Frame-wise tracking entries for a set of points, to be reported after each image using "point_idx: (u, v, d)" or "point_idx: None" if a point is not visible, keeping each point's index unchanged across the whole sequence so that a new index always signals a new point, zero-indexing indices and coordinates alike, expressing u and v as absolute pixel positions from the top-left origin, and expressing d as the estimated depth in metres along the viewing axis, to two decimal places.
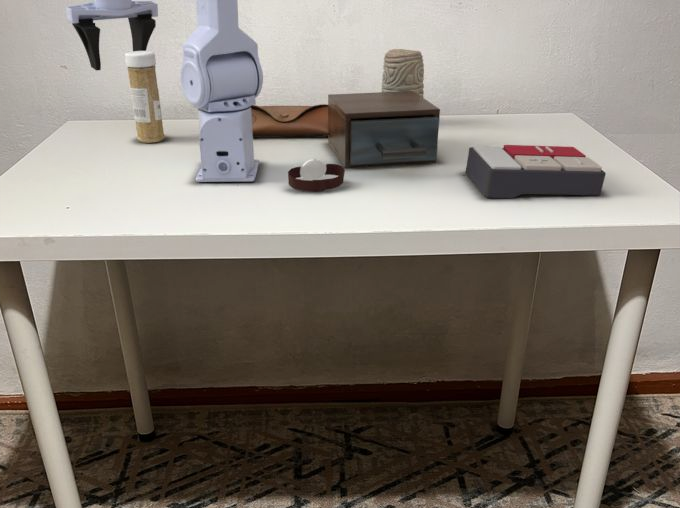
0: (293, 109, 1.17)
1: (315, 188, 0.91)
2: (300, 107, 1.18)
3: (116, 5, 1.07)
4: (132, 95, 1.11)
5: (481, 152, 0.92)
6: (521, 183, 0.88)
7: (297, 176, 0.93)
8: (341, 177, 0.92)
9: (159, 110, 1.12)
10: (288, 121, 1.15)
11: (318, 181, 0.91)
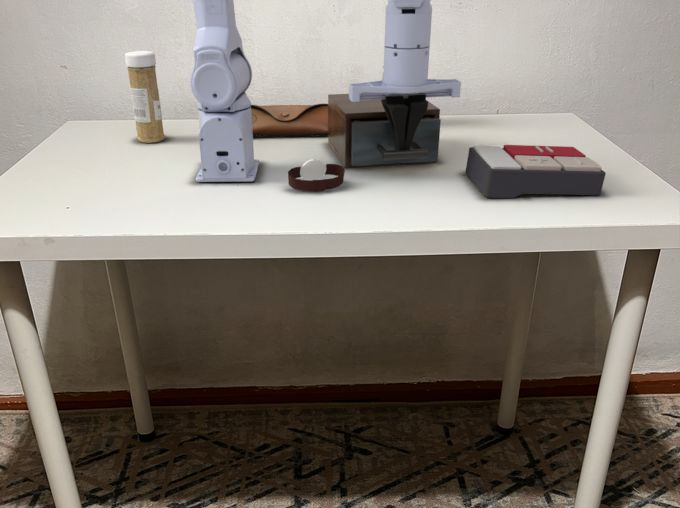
0: (293, 109, 1.17)
1: (315, 188, 0.91)
2: (300, 106, 1.18)
3: (406, 81, 0.88)
4: (132, 95, 1.11)
5: (481, 152, 0.92)
6: (521, 183, 0.88)
7: (297, 176, 0.93)
8: (341, 177, 0.92)
9: (159, 110, 1.12)
10: (289, 121, 1.15)
11: (318, 181, 0.91)
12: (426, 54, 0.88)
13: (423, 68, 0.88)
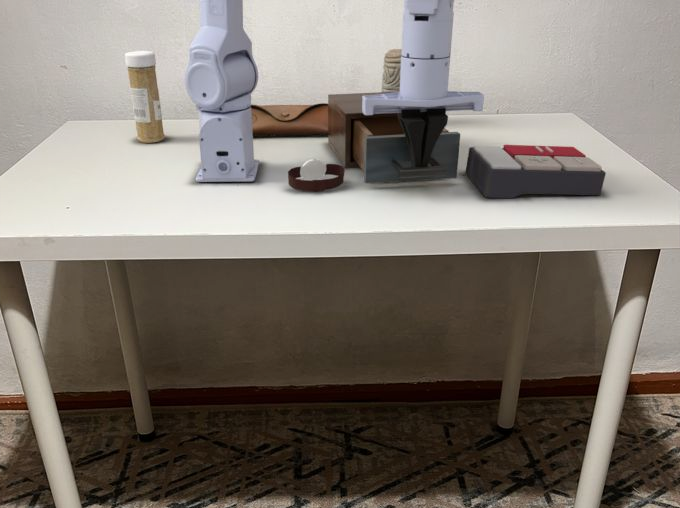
0: (293, 109, 1.18)
1: (315, 188, 0.91)
2: (300, 106, 1.18)
3: (423, 94, 0.82)
4: (132, 95, 1.11)
5: (481, 152, 0.92)
6: (521, 183, 0.88)
7: (297, 176, 0.93)
8: (341, 177, 0.92)
9: (159, 110, 1.12)
10: (289, 120, 1.16)
11: (318, 181, 0.91)
12: (446, 65, 0.81)
13: (443, 79, 0.81)
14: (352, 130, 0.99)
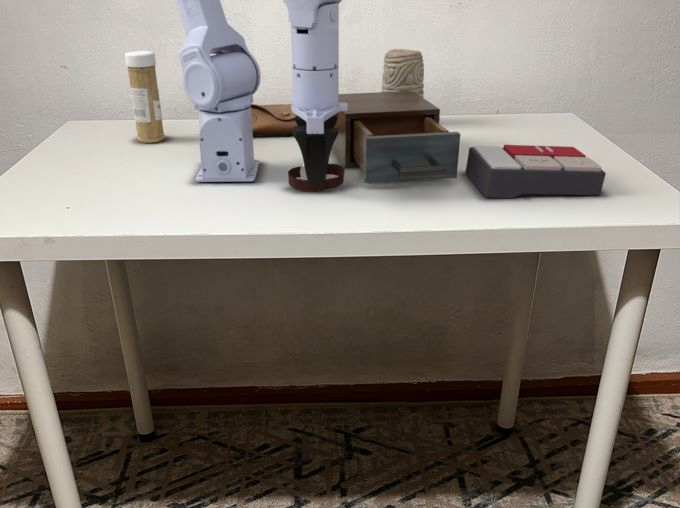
0: None
1: (315, 188, 0.91)
2: None
3: None
4: (132, 95, 1.11)
5: (481, 152, 0.92)
6: (521, 183, 0.88)
7: (297, 176, 0.94)
8: (341, 177, 0.92)
9: (159, 110, 1.12)
10: (290, 120, 1.16)
11: None
12: (300, 77, 0.84)
13: (296, 89, 0.85)
14: (352, 130, 0.99)
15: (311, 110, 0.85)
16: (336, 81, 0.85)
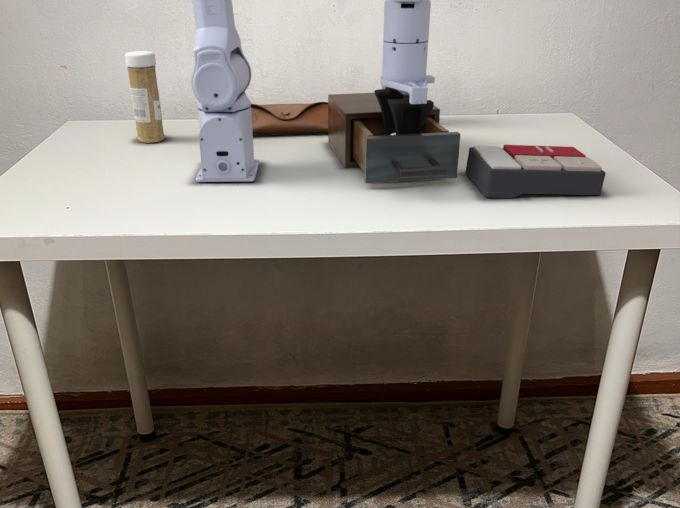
0: (293, 107, 1.18)
1: None
2: (300, 105, 1.19)
3: (382, 72, 0.91)
4: (132, 95, 1.11)
5: (481, 152, 0.92)
6: (521, 183, 0.88)
7: None
8: None
9: (159, 110, 1.12)
10: (290, 119, 1.16)
11: None
12: (395, 50, 0.87)
13: (390, 63, 0.89)
14: (352, 130, 0.99)
15: (406, 82, 0.89)
16: None
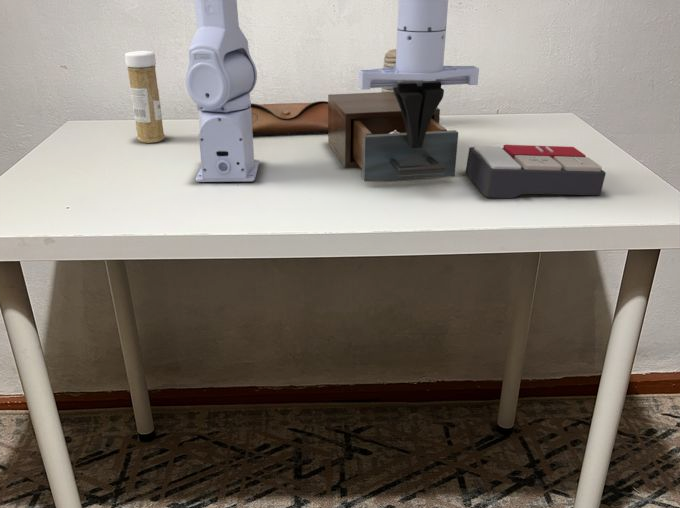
0: (293, 107, 1.19)
1: None
2: (299, 104, 1.19)
3: (420, 67, 0.82)
4: (132, 95, 1.11)
5: (481, 152, 0.92)
6: (521, 183, 0.88)
7: None
8: None
9: (159, 110, 1.12)
10: (291, 118, 1.17)
11: None
12: (442, 38, 0.82)
13: (439, 53, 0.82)
14: (351, 129, 1.00)
15: (444, 69, 0.85)
16: None
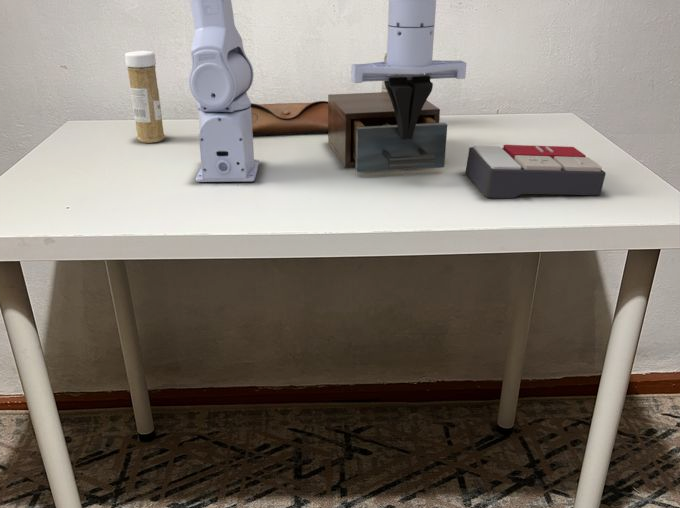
0: (293, 107, 1.19)
1: None
2: (299, 104, 1.20)
3: (410, 61, 0.86)
4: (132, 95, 1.11)
5: (481, 152, 0.92)
6: (521, 183, 0.88)
7: None
8: None
9: (159, 110, 1.12)
10: (291, 118, 1.17)
11: None
12: (431, 33, 0.85)
13: (428, 48, 0.86)
14: None
15: (433, 64, 0.89)
16: None
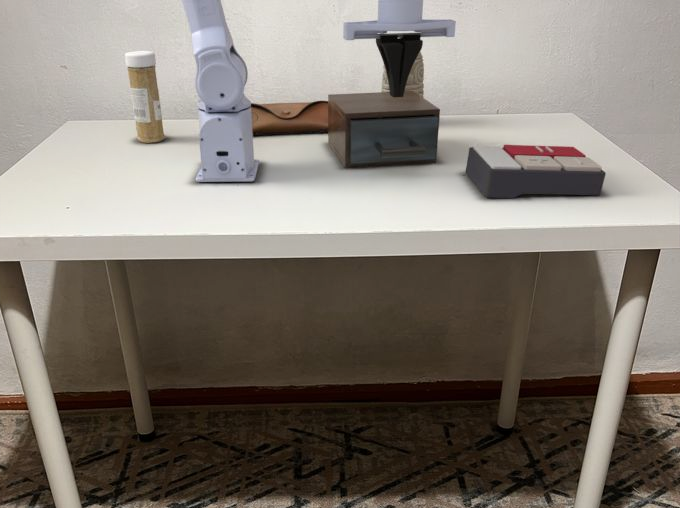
0: (293, 106, 1.19)
1: None
2: (299, 104, 1.20)
3: (400, 18, 0.88)
4: (132, 95, 1.11)
5: (481, 152, 0.92)
6: (521, 183, 0.88)
7: None
8: None
9: (159, 110, 1.12)
10: (291, 118, 1.17)
11: None
12: None
13: (418, 5, 0.88)
14: None
15: (423, 22, 0.91)
16: None
